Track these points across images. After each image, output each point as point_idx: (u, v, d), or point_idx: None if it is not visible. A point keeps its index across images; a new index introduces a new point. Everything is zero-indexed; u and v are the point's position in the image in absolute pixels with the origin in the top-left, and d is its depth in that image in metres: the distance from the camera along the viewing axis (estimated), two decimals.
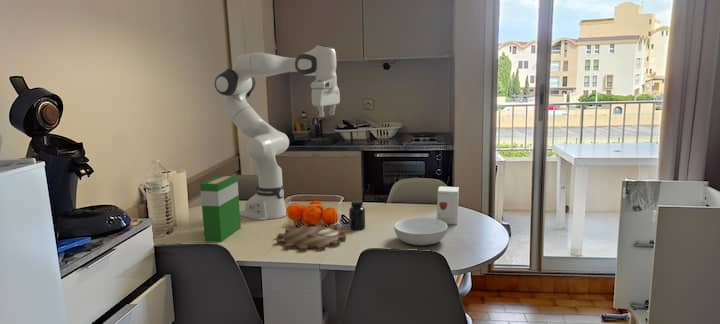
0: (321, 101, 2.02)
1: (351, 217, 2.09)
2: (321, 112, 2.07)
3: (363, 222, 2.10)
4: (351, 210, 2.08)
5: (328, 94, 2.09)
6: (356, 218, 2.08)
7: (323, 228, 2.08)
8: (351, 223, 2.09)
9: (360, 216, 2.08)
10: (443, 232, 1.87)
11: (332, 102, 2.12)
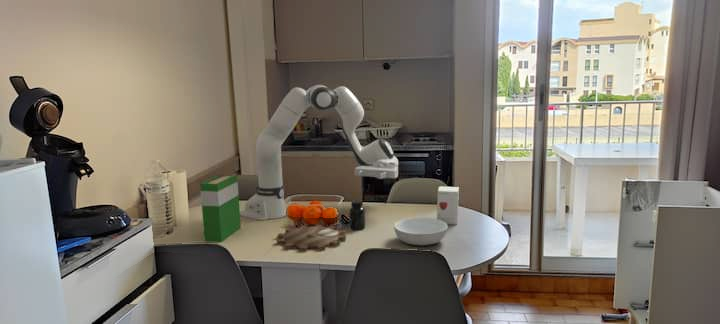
0: None
1: (351, 217, 2.09)
2: (383, 175, 2.21)
3: (363, 222, 2.10)
4: (351, 210, 2.08)
5: None
6: (356, 218, 2.08)
7: (323, 228, 2.08)
8: (351, 223, 2.09)
9: (360, 216, 2.08)
10: (443, 232, 1.87)
11: None
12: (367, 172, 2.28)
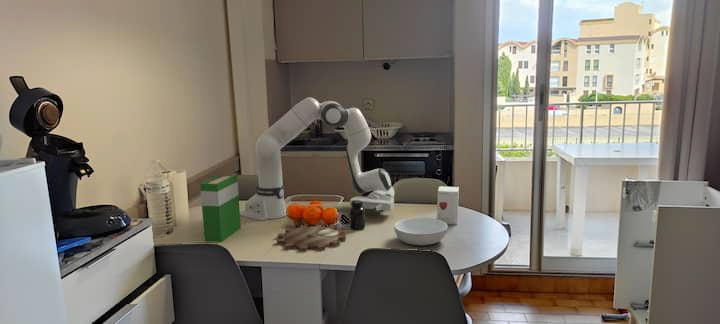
0: None
1: (351, 217, 2.09)
2: (378, 208, 2.19)
3: (363, 222, 2.10)
4: (351, 210, 2.08)
5: None
6: (356, 218, 2.08)
7: (323, 228, 2.08)
8: (351, 223, 2.09)
9: (360, 216, 2.08)
10: (443, 232, 1.87)
11: None
12: (363, 204, 2.26)
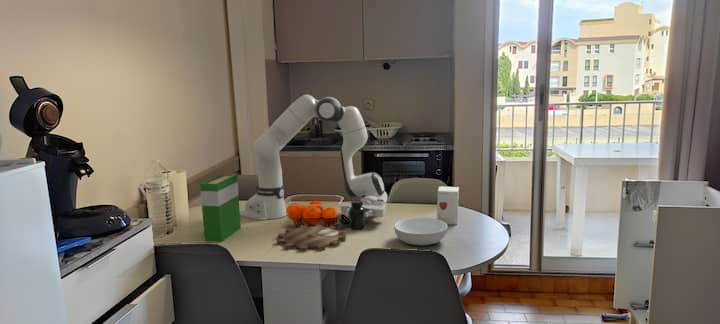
0: None
1: (351, 217, 2.09)
2: (368, 214, 2.10)
3: (363, 222, 2.10)
4: (351, 210, 2.08)
5: None
6: (356, 218, 2.08)
7: (323, 228, 2.08)
8: (351, 223, 2.09)
9: (360, 216, 2.08)
10: (443, 232, 1.87)
11: None
12: None
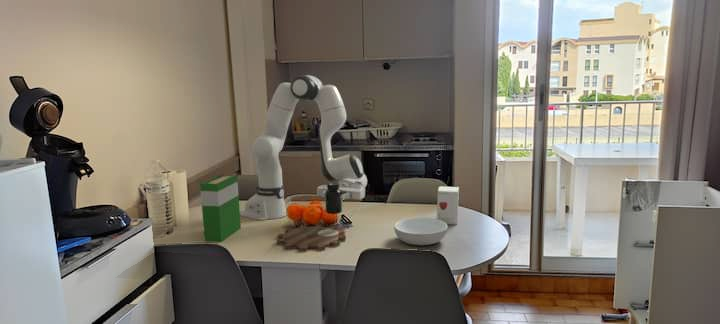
0: None
1: (327, 200, 1.99)
2: (345, 197, 2.00)
3: (340, 205, 2.00)
4: (327, 193, 1.99)
5: None
6: (332, 200, 1.98)
7: (323, 228, 2.08)
8: (327, 206, 2.00)
9: (336, 199, 1.99)
10: (443, 232, 1.87)
11: None
12: None
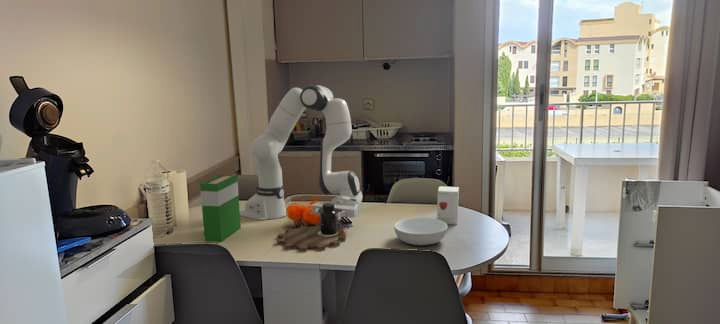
0: None
1: (322, 221, 1.98)
2: (341, 215, 1.99)
3: (335, 226, 1.99)
4: (322, 214, 1.98)
5: None
6: (327, 222, 1.97)
7: None
8: (322, 227, 1.99)
9: (332, 220, 1.98)
10: (443, 232, 1.87)
11: None
12: None
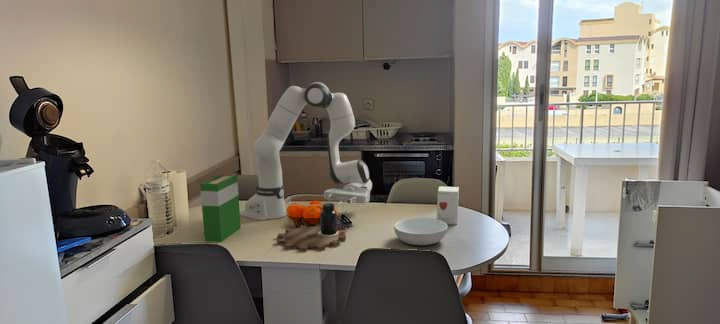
0: None
1: (322, 221, 1.98)
2: (352, 201, 2.10)
3: (335, 226, 1.99)
4: (322, 214, 1.98)
5: None
6: (327, 222, 1.97)
7: None
8: (322, 227, 1.99)
9: (332, 220, 1.98)
10: (443, 232, 1.87)
11: None
12: (337, 196, 2.17)
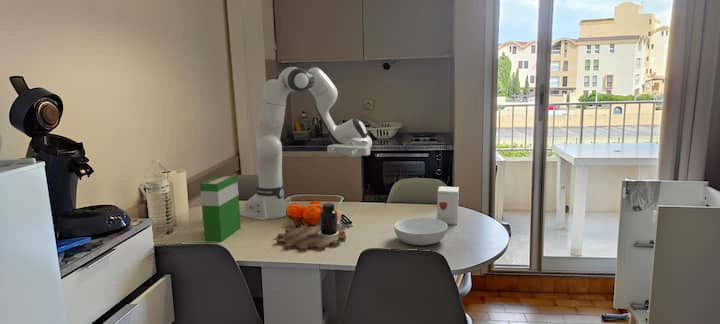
0: None
1: (322, 221, 1.98)
2: (354, 152, 2.25)
3: (335, 226, 1.99)
4: (322, 214, 1.98)
5: None
6: (327, 222, 1.97)
7: None
8: (322, 227, 1.99)
9: (332, 220, 1.98)
10: (443, 232, 1.87)
11: (343, 153, 2.32)
12: (339, 150, 2.32)
